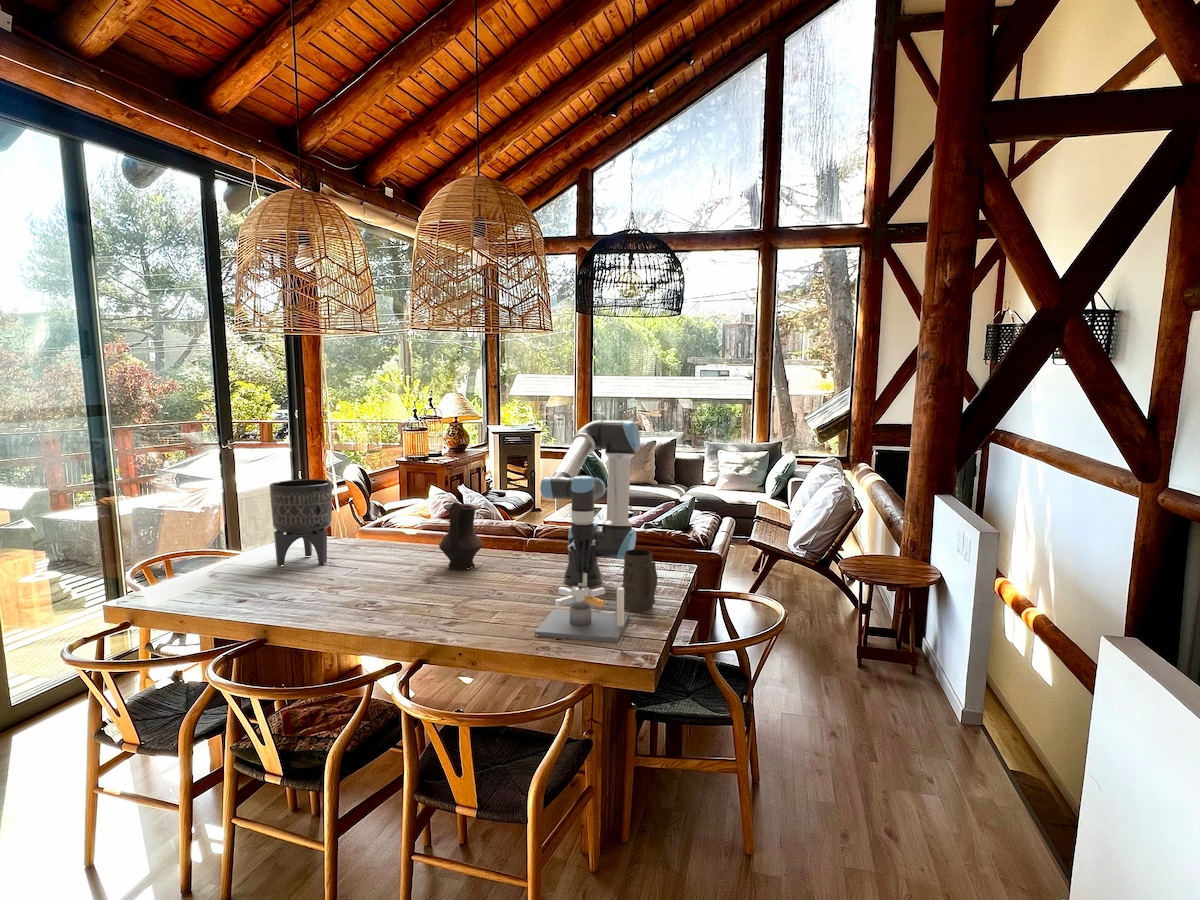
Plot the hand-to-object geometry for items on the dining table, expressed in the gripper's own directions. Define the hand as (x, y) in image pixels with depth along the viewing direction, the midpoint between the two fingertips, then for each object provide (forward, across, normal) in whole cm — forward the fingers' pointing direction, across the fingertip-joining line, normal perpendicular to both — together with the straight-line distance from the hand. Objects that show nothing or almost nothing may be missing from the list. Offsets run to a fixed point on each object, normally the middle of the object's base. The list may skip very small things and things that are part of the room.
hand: (582, 591), depth 229 cm
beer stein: (+9, -22, +8) cm, 24 cm away
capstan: (+2, +7, +7) cm, 10 cm away
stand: (+9, +7, +7) cm, 13 cm away
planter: (+9, +42, -137) cm, 144 cm away
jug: (+9, -4, -82) cm, 83 cm away
